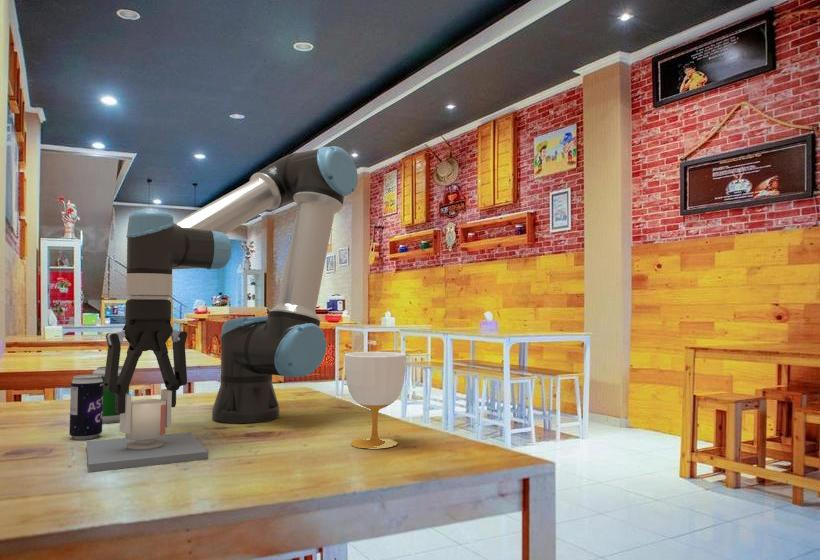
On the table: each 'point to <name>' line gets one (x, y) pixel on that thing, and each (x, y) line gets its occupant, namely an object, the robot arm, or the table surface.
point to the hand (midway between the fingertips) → (145, 428)
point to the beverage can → (86, 407)
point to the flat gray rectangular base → (143, 451)
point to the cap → (147, 419)
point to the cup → (374, 384)
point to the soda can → (108, 399)
